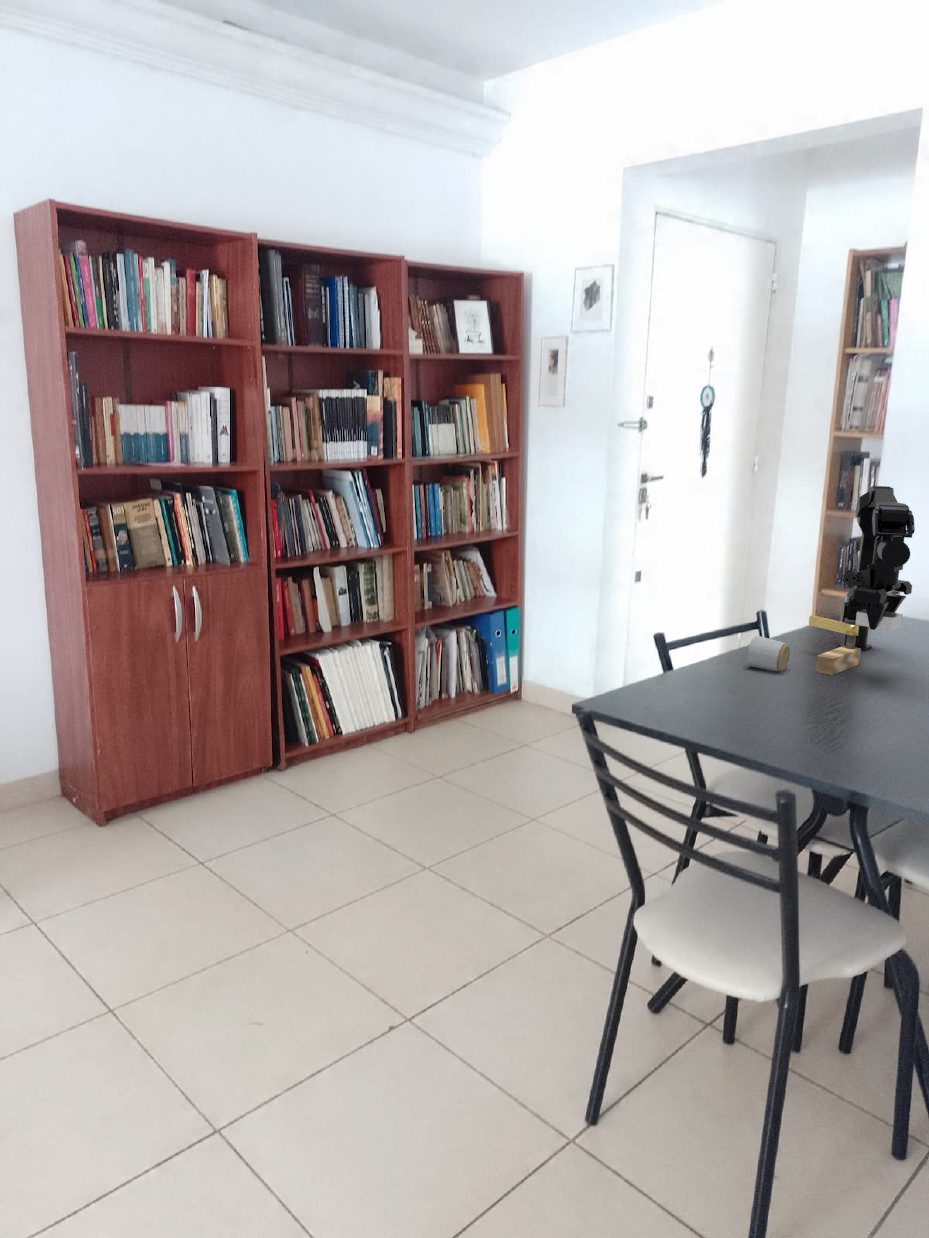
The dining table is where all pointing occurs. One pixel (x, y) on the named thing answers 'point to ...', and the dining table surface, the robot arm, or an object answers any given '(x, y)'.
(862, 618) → the frosted white brick
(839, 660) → the tan block
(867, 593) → the robot arm
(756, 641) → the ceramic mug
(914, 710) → the dining table surface
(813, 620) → the lever
